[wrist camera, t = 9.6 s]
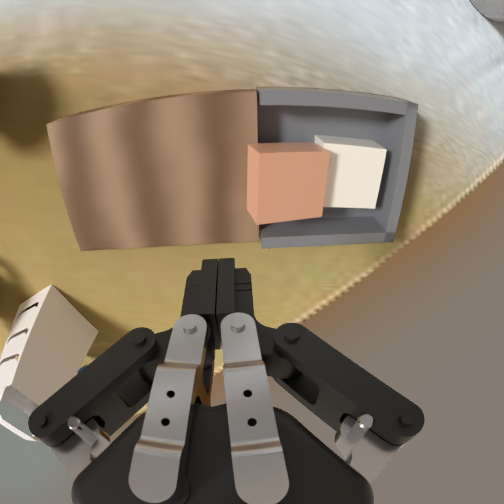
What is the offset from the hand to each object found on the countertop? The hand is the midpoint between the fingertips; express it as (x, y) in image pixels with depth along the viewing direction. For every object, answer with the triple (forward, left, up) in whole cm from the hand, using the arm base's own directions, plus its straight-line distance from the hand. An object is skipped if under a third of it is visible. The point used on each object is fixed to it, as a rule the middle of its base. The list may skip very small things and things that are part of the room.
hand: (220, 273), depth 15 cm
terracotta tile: (-5, 0, -14) cm, 14 cm away
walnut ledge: (+7, 0, -16) cm, 18 cm away
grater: (+28, +21, -17) cm, 39 cm away
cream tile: (-11, 0, -16) cm, 19 cm away
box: (-10, 0, -16) cm, 19 cm away
